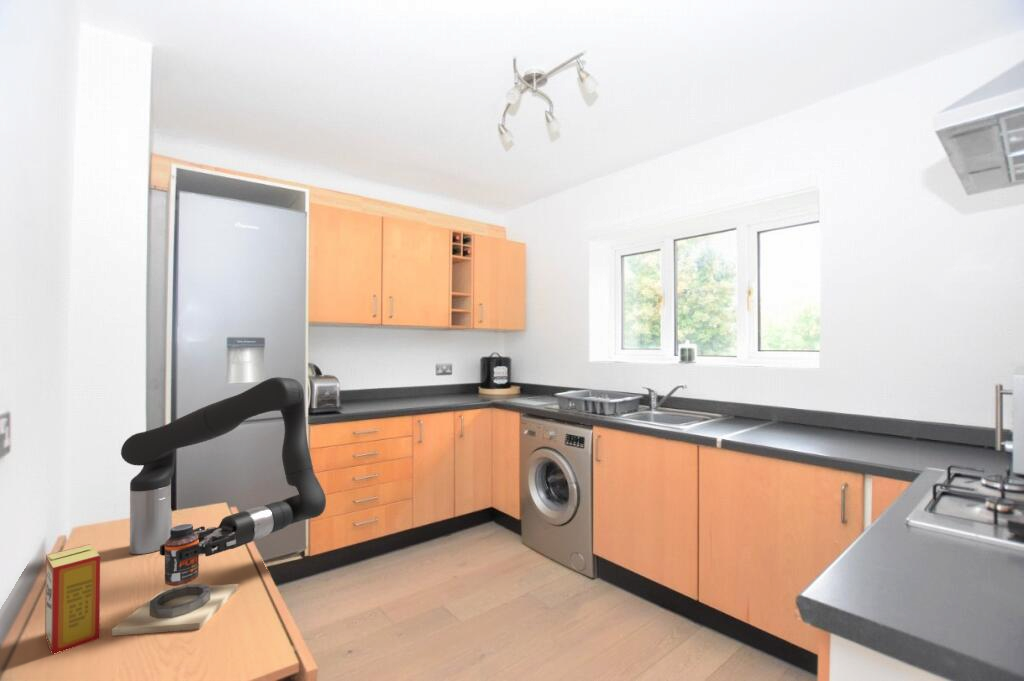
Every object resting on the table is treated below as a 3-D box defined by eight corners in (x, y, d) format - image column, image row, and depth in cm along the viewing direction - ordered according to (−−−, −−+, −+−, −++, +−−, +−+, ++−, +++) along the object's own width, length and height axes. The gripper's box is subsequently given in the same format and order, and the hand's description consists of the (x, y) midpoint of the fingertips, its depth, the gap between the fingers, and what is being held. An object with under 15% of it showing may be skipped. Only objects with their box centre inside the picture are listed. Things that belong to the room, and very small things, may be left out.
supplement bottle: (181, 588, 97) (180, 532, 97) (157, 586, 98) (156, 531, 98) (205, 574, 102) (204, 522, 103) (182, 572, 104) (182, 521, 104)
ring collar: (169, 594, 104) (169, 585, 105) (219, 590, 106) (219, 582, 106) (137, 620, 94) (137, 611, 94) (192, 616, 95) (192, 607, 95)
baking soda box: (99, 637, 90) (100, 553, 91) (52, 655, 85) (53, 566, 86) (89, 621, 96) (90, 542, 97) (45, 636, 91) (46, 553, 92)
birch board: (164, 594, 107) (164, 588, 107) (238, 589, 109) (238, 583, 109) (112, 635, 91) (112, 629, 91) (199, 629, 93) (199, 623, 93)
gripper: (229, 506, 116) (151, 530, 102) (265, 515, 109) (186, 541, 95) (230, 537, 116) (151, 565, 101) (265, 547, 109) (187, 579, 94)
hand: (168, 553), depth 98 cm, fingers closed on supplement bottle, 6 cm apart
